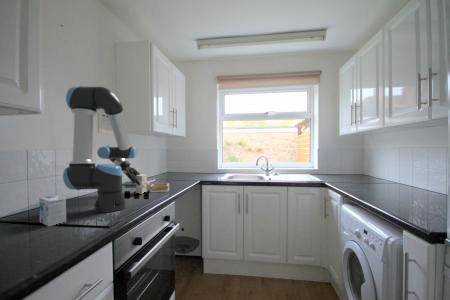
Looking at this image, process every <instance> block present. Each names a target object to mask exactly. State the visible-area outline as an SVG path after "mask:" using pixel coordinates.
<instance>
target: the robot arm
mask: <svg viewBox="0 0 450 300" xmlns="http://www.w3.org/2000/svg"><path fill="white" fill-rule="evenodd" d="M120 100H121V99H119V97H118V96H117V95H116V94H115V92H113V91H111V90H110V89H109V88H106V87H104V86H83V85H82V86H81V85H80V86H72V87H70V88H69V89H68V90H67V92H66V95H65V102H66V105H67V107H68V108H69V109H71V110H70V111H71V113H73V115H74V118H73V120H74V121H73V122H74V123H73V142H72V143H73V146H72V160H71V161H70V162H69V163H68V166H67V167H65V168H64V171H63V172H62V173H63V174H62V180H63V183H64V185H65V186H66V188H68V189H69V190H73V191H74V190H76V191H81V190H97V195H96V199H95V201H94V205H93V212H95V213H111V212H117V211H122V210H124V209H125V208H127V202H126V198H125V196H124V194H123V174H125V176H126V177H127V178H128V179H129V180H130V181H131V182H132V183H133V184H135V185H136V184H137V185H138V186H139V187H140V188H141V189H144V188H145V186H144V185H143V184H142V183H141V182H140V181H139V180H137V178H136V175H139V174H141V173H140V172H139V171H138V170H137V169H136V168H135V167H131V162H129V160H127V159H135V158H136V157H137V148H136V147H135V146H132V144H131V141H130V137H129V133H128V129H127V125H126V122H125V118H124V115H123V112H124V108H123V107H124V106H123V104H122V102H121V101H120ZM97 110H103V112H104V113H105V115H107V117H108V120H109V123H110V126H111V129H112V132H113V135H114V138H115V142H116V144H117V146H113V145H111V144H109V145H106V146H100V147H99V148H98V149H97V151H96V152H97V156H98V157H99V159H103V160H109V161H111V163H98V164H96V162H94V160H93V147H94V146H93V145H94V144H93V141H94V116H95V115H97V114H98V113H97V112H98V111H97ZM150 186H151V185H150V183H149V182H148V181H147V188H148V187H150Z"/></svg>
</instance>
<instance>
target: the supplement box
mask: <svg viewBox="0 0 450 300" xmlns="http://www.w3.org/2000/svg"><path fill="white" fill-rule="evenodd" d="M136 178H137V180H139V181H140V182H141V183H142V184H143V185H144V186H145V188H144V189H141V188H140V187H139V186H138V185H137V184H136V183H135V194H136V193H139V194H143V193H144V192H146V193H147V192H148V190H147V189H148V187H147V182H148V181H147V178H148V177H147V174H146V173H140V174H139V175H136ZM143 195H144V194H143Z"/></svg>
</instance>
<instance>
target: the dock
mask: <svg viewBox="0 0 450 300" xmlns="http://www.w3.org/2000/svg"><path fill="white" fill-rule="evenodd" d="M169 191H170V183H167V182H166V183H165V182H163V183H161V182H160V183H151V185H149V193H152V194H153V193H168V192H169Z"/></svg>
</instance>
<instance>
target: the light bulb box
mask: <svg viewBox="0 0 450 300" xmlns="http://www.w3.org/2000/svg"><path fill="white" fill-rule="evenodd" d="M38 200H39V202H38V203H39V204H38V205H39V223H42V224H43V225H45V226H47V227H52V226H56V224H57V225H60V224H59V223H61V224H64V223H63V222H65V223H67V197H65V196H60V195H57V194H53V195H50V196H49V195H48V196H43V197H39V199H38Z"/></svg>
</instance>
